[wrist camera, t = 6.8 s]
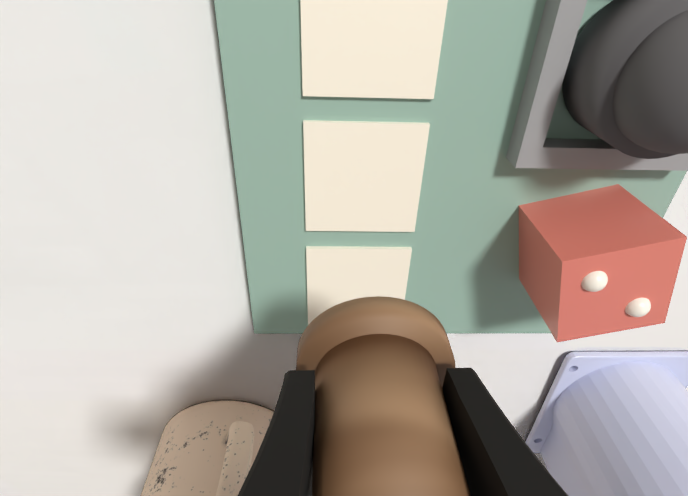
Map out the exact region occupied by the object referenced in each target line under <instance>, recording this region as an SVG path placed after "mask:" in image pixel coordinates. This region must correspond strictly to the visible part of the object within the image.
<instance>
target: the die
mask: <svg viewBox="0 0 688 496" xmlns="http://www.w3.org/2000/svg"><path fill="white" fill-rule="evenodd" d="M686 239H687V237H686V236H685V235H684V234H682V233H681V232H680V231H679V230H677V229H676V228H675V227H673V226H672V225H671V224H670V223H668V222H667V221H666V220H664V219H663V218H662V217H660V216H659V215H658V214H657V213H655V212H654V211H653V210H651V209H650V208H649V207H647V206H646V205H645V204H644V203H642V202H641V201H640V200H638V199H637V198H636V197H635V196H633V195H632V194H631V193H629V192H628V191H627V190H625V189H624V188H623V187H622V186H620V185H619V184H616V185H612V186H607V187H602V188H598V189H593V190H588V191H584V192H579V193H574V194H570V195H565V196H561V197H556V198H551V199H547V200H542V201H537V202H533V203H528V204H523V205H519V280H520V281H521V283H522V285H523V286H524V288H525V290H526V291H527V293H528V295H529V296H530V298H531V300H532V301H533V303H534V305H535V306H536V308H537V310H538V311H539V313H540V315H541V316H542V318H543V320H544V321H545V323H546V325H547V326H548V328H549V330H550V331H551V333H552V335H553V336H554V338H555V340H556V341H557V342H561V341H567V340H572V339H578V338H583V337H589V336H594V335H600V334H605V333H611V332H616V331H622V330H627V329H633V328H639V327H644V326H650V325H655V324H661V323H665V319H666V316H667V312H668V308H669V304H670V300H671V296H672V293H673V289H674V285H675V281H676V277H677V273H678V269H679V266H680V262H681V258H682V254H683V250H684V246H685V243H686Z"/></svg>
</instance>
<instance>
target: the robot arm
mask: <svg viewBox="0 0 688 496" xmlns="http://www.w3.org/2000/svg"><path fill="white" fill-rule="evenodd" d="M687 386H688V351H645V352H571V353H569V354H568V355H566V357H565V358H564V360H563V362H562V365H561V367H560V369H559V371H558V373H557V375H556V377H555V380H554V382H553V384H552V386H551V388H550V390H549V393H548V395H547V397H546V399H545V401H544V403H543V405H542V408H541V410H540V412H539V414H538V416H537V418H536V420H535V423H534V425H533V427H532V429H531V431H530V433H529V436H528V438H527V440H526V442H525V441H524V440H523V439H522V438H521V436H520V435H519V434H518V432H517V431H516V430H515V428H514V427H513V426H512V424H511V423H510V422H509V420H508V419H507V417H506V416H505V415H504V413H503V412H502V410H501V409H500V408H499V406H498V405H497V403H496V402H495V400H494V399H493V398H492V396H491V395H490V393H489V392H488V390H487V389H486V387H485V386H484V384H483V383H482V381H481V380H480V378H479V377H478V375H477V374H476V372H475V371H474V370H473V369H472V368H447V369H446V374H445V378H444V382H443V387H442V391H443V394H444V398H445V402H446V406H447V409H448V413H449V417H450V420H451V424H452V428H453V432H454V435H455V439H456V443H457V447H458V450H459V454H460V458H461V461H462V465H463V469H464V473H465V476H466V480H467V484H468V488H469V491H470V495H471V496H688V391H687V389H686V388H687ZM314 420H315V370H293V371H288V372H287V373H286V374H285V377H284V381H283V385H282V389H281V392H280V396H279V399H278V402H277V405H276V408H275V411H274V413H273V416H272V419H271V422H270V424H269V427H268V429H267V432H266V434H265V436H264V439H263V441H262V444H261V446H260V448H259V451H258V453H257V456H256V458H255V460H254V462H253V464H252V467H251V469H250V471H249V473H248V475H247V477H246V479H245V481H244V483H243V485H242V487H241V489H240V491H239V494H238V496H312V473H313V440H314ZM534 453H541V456H542V458H543V460H544V463H545V465H546V467H547V470H548V471H547V470H546V468H545V467H544V466H543V465H542V463H541V462H540V461H539V460H538V458H537V457H536V456H535V454H534Z"/></svg>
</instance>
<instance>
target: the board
mask: <svg viewBox="0 0 688 496" xmlns="http://www.w3.org/2000/svg"><path fill="white" fill-rule="evenodd" d="M611 1H613V0H214V4H215V12H216V21H217V29H218V37H219V45H220V54H221V62H222V70H223V78H224V87H225V95H226V103H227V111H228V120H229V128H230V136H231V144H232V153H233V161H234V169H235V178H236V186H237V194H238V202H239V211H240V219H241V227H242V235H243V244H244V252H245V260H246V268H247V277H248V285H249V293H250V301H251V310H252V318H253V326H254V334H302V333H303V332H304V330H305V329H306V327H307V326H308V325H309V324H310V323H311V322H312V320H314V319H315V318H316V317H317V316H318V315H320V314H321V313H323V312H324V311H326V310H327V309H329V308H331V307H333V306H335V305H337V304H340V303H343V302H346V301H349V300H353V299H357V298H364V297H376V296H381V297H393V298H400V299H403V300H407V301H410V302H413V303H415V304H418V305H420V306H422V307H424V308H425V309H427V310H428V311H430V312H431V313H432V314H434V315H435V317H436V318H437V319H438V320H439V321H440V322H441V324H442V325H443V327H444V329H445V331H446V333H551V331H550V330H549V328H548V326H547V325H546V323H545V321H544V320H543V318H542V316H541V315H540V313H539V311H538V310H537V308H536V306H535V305H534V303H533V301H532V300H531V298H530V296H529V295H528V293H527V291H526V290H525V288H524V286H523V285H522V283H521V281H520V280H519V205H523V204H528V203H533V202H537V201H542V200H547V199H551V198H556V197H561V196H565V195H570V194H574V193H579V192H584V191H588V190H593V189H598V188H602V187H607V186H612V185H616V184H619V185H620V186H622V187H623V188H624V189H625V190H627V191H628V192H629V193H631V194H632V195H633V196H635V197H636V198H637V199H638V200H640V201H641V202H642V203H644V204H645V205H646V206H647V207H649V208H650V209H651V210H653V211H654V212H655V213H657V214H658V215H659V216H660V217H662V218H663V217H664V215H665V213H666V211H667V209H668V207H669V205H670V203H671V201H672V199H673V197H674V195H675V193H676V191H677V189H678V187H679V185H680V184H681V182H682V180H683V178H684V176H685V174H686V172H687V171H688V153H685V154H677V155H673V156H669V157H664V158H658V159H643V158H636V157H632V156H629V155H627V154H624V153H622V152H621V151H619V150H617V149H616V148H614V147H613V146H611V145H610V144H608V143H607V142H605V141H604V140H602V139H601V138H599V137H597V136H596V135H594V134H593V133H591V132H590V131H588V130H587V129H585V128H584V127H582V126H581V125H579V124H578V123H577V122H576V121H575V120H574V119H573V118H572V116H571V115H570V114H569V112H568V110H567V108H566V105H565V102H564V98H563V92H562V83H563V79H564V76H565V73H566V69H567V66H568V63H569V59H570V56H571V53H572V49H573V46H574V43H575V41H576V39H577V38H578V36H579V34H580V33H581V32H582V30H583V29H584V28H585V26H586V25H587V24H588V22H589V21H590V20H591V19H592V18H593V17H594V16H595V15H596V14H597V13H598V12H599V11H600V10H601V9H602V8H603V7H605V6H606V5H607V4H609V3H610V2H611Z"/></svg>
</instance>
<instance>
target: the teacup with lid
mask: <svg viewBox="0 0 688 496" xmlns="http://www.w3.org/2000/svg"><path fill="white" fill-rule="evenodd" d="M273 413H274V412H273V411H271V410H269V409H267V408H264V407H261V406H258V405H255V404H251V403H246V402H240V401H211V402H205V403H201V404H197V405H194V406H191V407H189V408H186V409H185V410H183V411H181V412H179V413H178V414H176V415H175V416H174V417H173V418H172V419H171V420H170V421H169V422H168V423H167V425H166V426H165V428H164V431H163V433H162V436H161V439H160V442H159V445H158V448H157V450H156V453H155V456H154V459H153V462H152V465H151V468H150V470H149V473H148V476H147V479H146V482H145V485H144V488H143V491H142V493H141V496H238V494H239V491H240V489H241V487H242V485H243V483H244V481H245V479H246V477H247V475H248V473H249V471H250V469H251V467H252V464H253V462H254V460H255V458H256V456H257V453H258V451H259V448H260V446H261V444H262V441H263V439H264V436H265V434H266V432H267V429H268V427H269V424H270V422H271V419H272V416H273Z"/></svg>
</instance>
